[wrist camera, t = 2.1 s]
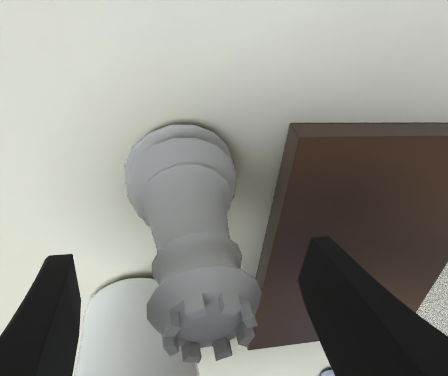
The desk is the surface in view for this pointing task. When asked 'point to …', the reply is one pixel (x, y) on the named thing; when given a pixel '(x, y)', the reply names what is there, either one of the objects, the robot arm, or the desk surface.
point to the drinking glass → (125, 335)
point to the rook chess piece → (192, 241)
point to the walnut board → (354, 215)
